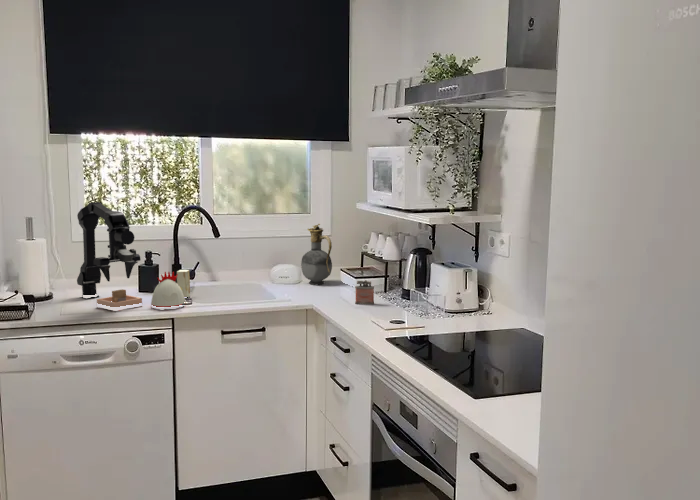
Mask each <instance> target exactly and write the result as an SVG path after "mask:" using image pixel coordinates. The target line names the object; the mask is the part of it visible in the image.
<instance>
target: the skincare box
mask: <svg viewBox="0 0 700 500" xmlns="http://www.w3.org/2000/svg"><path fill="white" fill-rule="evenodd" d="M177 274H178V275H177ZM176 275H177V278H176V283H177V284H178V285H179V286H180V287H181V288H182V292H183V295H184V297H188V298H190V297H191V284H190V283H191V280H190V279H191V278H190V269H179V270H177V271H176Z"/></svg>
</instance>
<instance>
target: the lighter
mask: <svg viewBox="0 0 700 500" xmlns="http://www.w3.org/2000/svg"><path fill="white" fill-rule="evenodd" d="M354 288H355V301H354V303H355V305H366V306H367V305H375V300H374V298H375V293H374V292H375V291H374V290H375V286H373V285H372V281H367V280H365V279H364V280H357V281H356V285H355V286H354Z"/></svg>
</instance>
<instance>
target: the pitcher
mask: <svg viewBox="0 0 700 500" xmlns="http://www.w3.org/2000/svg"><path fill="white" fill-rule="evenodd" d="M320 225H321V223H318V224H314V225H312V226H311V227H312V228H309V227H308V228H307V231H308V232H310V233H309V234H310V244H311V245H310V246H311V248H310V250H308V251H306V252H305V253H304V254H303V256H302V257H301V261H300V267H301V272H302V275H303V276H304V278H306V279H308V280H309V282H308V284H309V285H313V286H321V285H324V284H325V281H324V280H326V279H327V278H328V277H329V276H331V273H332V269H333V262H332V258H331V256H330V254H331V253H332V252H331V251H332V247H333V246H332V240H331V238H330V237H329V236H327V235H323V232H324V228H323V227H320ZM323 240H327V243H328V250H327V251H328V253H327V252H326V251H325V250H322V242H323Z"/></svg>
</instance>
